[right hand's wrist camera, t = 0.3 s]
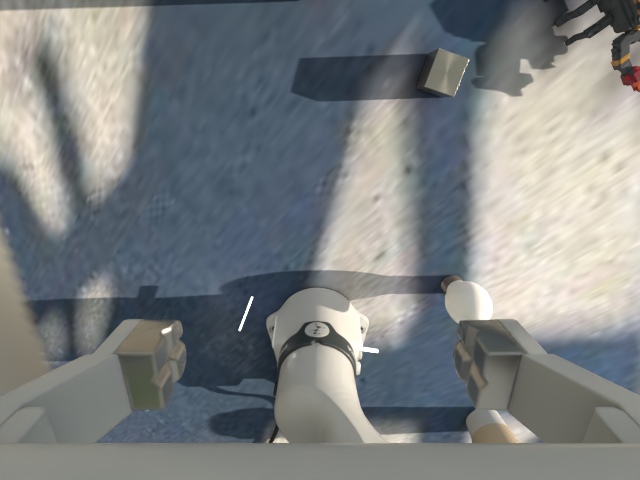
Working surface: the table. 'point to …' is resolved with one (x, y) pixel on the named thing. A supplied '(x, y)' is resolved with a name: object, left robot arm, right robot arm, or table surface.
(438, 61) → the grey cube-shaped block
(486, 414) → the coffee cup
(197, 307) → the table surface
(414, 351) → the table surface
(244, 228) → the table surface
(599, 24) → the toy
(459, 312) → the light bulb
